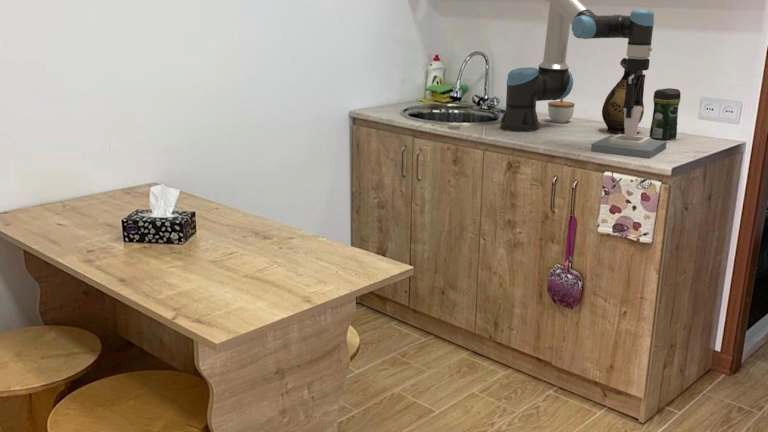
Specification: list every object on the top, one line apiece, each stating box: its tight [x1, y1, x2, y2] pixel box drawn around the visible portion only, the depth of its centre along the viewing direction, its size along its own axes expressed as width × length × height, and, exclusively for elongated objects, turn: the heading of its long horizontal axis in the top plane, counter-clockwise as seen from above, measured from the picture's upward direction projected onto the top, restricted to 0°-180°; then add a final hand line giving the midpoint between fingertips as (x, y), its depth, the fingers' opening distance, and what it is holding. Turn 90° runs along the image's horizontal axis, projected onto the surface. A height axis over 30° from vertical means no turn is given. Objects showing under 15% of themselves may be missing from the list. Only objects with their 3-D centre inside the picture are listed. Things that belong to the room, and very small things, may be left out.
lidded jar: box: [547, 99, 575, 124], centre depth 320 cm, size 11×11×9 cm
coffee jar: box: [649, 87, 682, 141], centre depth 285 cm, size 10×8×19 cm
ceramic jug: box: [601, 57, 645, 135], centre depth 297 cm, size 17×15×30 cm
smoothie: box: [623, 106, 643, 136], centre depth 264 cm, size 6×6×14 cm
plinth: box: [590, 133, 668, 159], centre depth 267 cm, size 20×20×4 cm
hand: (631, 125), depth 265 cm, fingers closed on smoothie, 6 cm apart
